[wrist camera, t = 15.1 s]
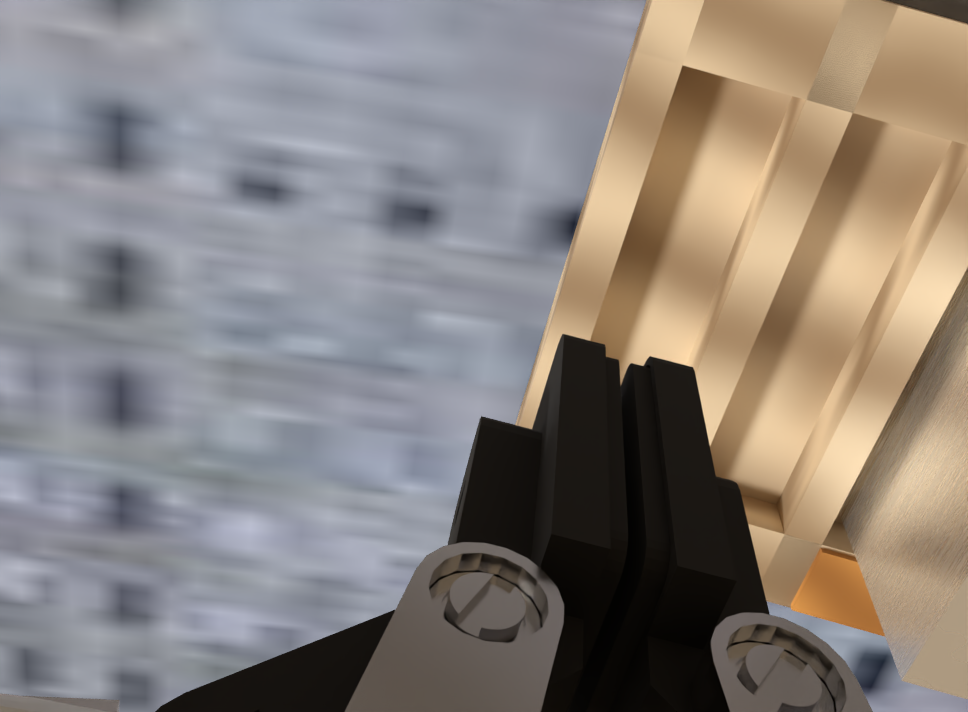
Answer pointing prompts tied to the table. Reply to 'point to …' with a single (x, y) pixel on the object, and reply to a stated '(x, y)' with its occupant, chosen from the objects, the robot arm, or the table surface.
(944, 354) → the blanking panel
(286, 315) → the table surface
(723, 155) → the rack
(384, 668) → the robot arm
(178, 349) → the table surface
